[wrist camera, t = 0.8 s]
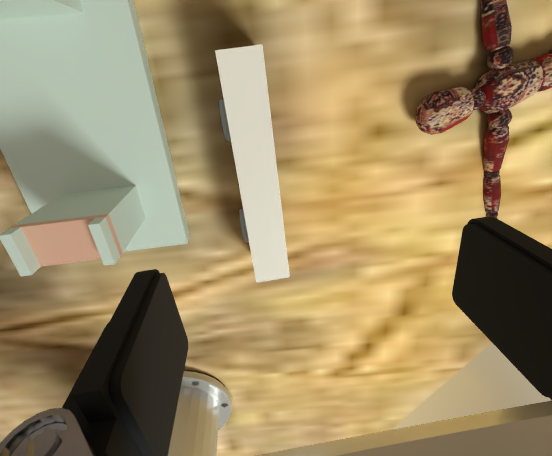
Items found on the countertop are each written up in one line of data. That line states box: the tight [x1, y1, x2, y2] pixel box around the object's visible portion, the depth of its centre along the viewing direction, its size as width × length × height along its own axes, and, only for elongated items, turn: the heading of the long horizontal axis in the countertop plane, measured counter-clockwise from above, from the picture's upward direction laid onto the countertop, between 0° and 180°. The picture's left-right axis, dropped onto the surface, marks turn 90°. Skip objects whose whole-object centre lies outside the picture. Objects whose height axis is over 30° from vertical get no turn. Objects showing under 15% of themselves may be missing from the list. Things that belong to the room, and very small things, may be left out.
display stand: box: [0, 0, 190, 276], centre depth 20 cm, size 24×12×9 cm, turn 5°
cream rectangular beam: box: [215, 45, 290, 282], centre depth 26 cm, size 18×4×5 cm, turn 7°
